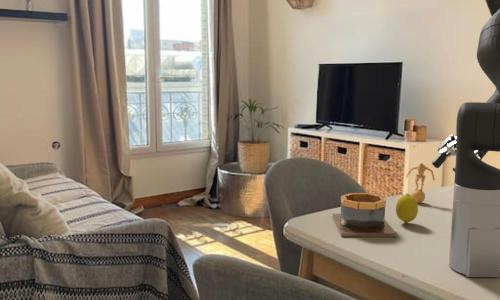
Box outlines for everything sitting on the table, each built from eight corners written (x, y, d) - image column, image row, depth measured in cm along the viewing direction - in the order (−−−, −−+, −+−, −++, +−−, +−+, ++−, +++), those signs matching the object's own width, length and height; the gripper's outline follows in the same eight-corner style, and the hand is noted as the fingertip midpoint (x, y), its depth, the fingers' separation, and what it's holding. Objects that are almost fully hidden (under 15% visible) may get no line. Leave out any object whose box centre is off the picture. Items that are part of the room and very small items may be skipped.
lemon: (414, 220, 131) (416, 191, 130) (419, 227, 126) (421, 196, 125) (393, 220, 132) (394, 190, 131) (397, 226, 126) (398, 196, 125)
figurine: (402, 202, 150) (404, 163, 148) (407, 198, 155) (409, 160, 153) (430, 206, 146) (432, 166, 144) (435, 201, 151) (437, 163, 149)
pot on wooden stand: (395, 237, 118) (397, 206, 117) (341, 236, 119) (342, 206, 117) (380, 217, 134) (381, 190, 133) (332, 217, 134) (333, 190, 133)
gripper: (458, 112, 136) (420, 155, 135) (496, 116, 123) (454, 164, 122) (473, 131, 139) (435, 173, 137) (512, 137, 125) (471, 184, 124)
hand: (444, 169), depth 130 cm, fingers open, 8 cm apart
